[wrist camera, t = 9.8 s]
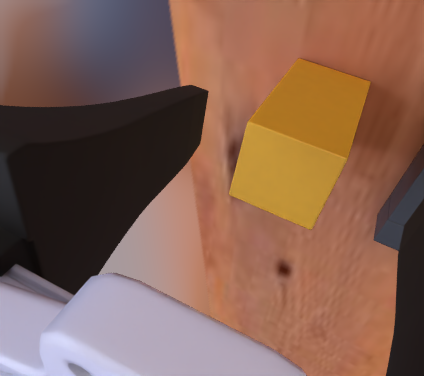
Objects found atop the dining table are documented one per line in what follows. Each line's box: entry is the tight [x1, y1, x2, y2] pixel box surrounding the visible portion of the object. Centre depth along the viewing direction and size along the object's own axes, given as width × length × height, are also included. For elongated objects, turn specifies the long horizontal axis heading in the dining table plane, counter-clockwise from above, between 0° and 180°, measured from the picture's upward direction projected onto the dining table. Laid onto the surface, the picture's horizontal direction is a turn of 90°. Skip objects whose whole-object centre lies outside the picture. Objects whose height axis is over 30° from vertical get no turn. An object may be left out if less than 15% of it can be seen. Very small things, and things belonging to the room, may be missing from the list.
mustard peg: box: [229, 58, 371, 230], centre depth 18 cm, size 4×4×8 cm
